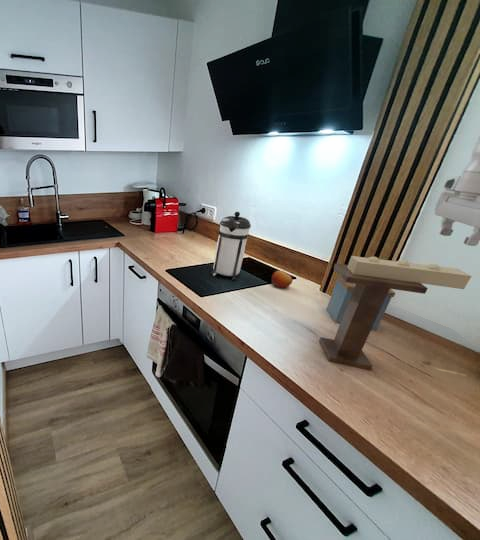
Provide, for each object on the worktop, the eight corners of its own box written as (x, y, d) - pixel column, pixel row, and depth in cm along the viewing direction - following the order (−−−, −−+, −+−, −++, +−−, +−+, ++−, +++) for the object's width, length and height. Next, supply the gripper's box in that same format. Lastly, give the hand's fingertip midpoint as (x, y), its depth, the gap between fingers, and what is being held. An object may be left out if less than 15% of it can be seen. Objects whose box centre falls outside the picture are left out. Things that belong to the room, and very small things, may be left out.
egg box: (451, 281, 71) (460, 264, 69) (464, 289, 67) (474, 271, 65) (346, 267, 77) (352, 251, 75) (353, 274, 73) (359, 257, 72)
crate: (364, 315, 105) (380, 279, 99) (377, 331, 95) (395, 293, 90) (325, 308, 108) (337, 274, 103) (333, 323, 99) (348, 286, 93)
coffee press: (250, 280, 130) (266, 215, 118) (218, 282, 127) (230, 215, 115) (231, 265, 146) (243, 207, 134) (201, 267, 143) (211, 207, 131)
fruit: (263, 278, 129) (276, 265, 126) (277, 287, 130) (290, 274, 127) (269, 286, 122) (284, 272, 118) (283, 295, 123) (298, 282, 119)
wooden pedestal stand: (368, 351, 86) (405, 272, 75) (383, 373, 77) (428, 288, 67) (308, 338, 91) (335, 263, 80) (316, 358, 82) (347, 276, 72)
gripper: (542, 191, 59) (506, 253, 64) (470, 181, 77) (446, 231, 82) (502, 189, 61) (469, 250, 66) (440, 180, 79) (419, 229, 84)
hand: (456, 239), depth 74 cm, fingers open, 8 cm apart
